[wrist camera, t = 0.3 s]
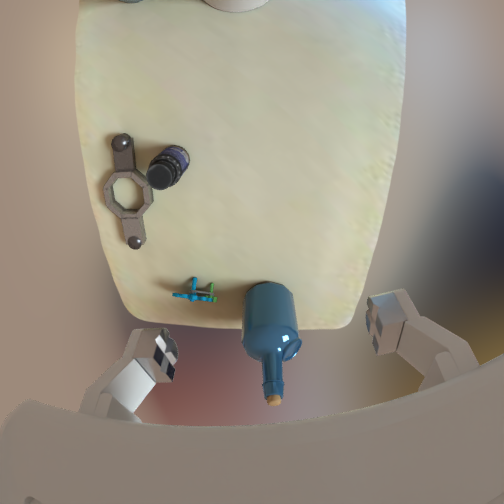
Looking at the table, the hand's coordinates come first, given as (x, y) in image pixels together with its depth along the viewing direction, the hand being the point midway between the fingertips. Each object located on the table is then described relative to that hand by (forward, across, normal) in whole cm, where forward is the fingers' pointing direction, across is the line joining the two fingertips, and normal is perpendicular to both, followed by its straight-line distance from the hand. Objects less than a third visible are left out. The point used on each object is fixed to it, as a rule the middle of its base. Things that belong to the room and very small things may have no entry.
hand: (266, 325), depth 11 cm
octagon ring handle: (+46, +29, +6) cm, 55 cm away
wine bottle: (+47, +5, +42) cm, 63 cm away
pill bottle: (+46, +17, +2) cm, 49 cm away
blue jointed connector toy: (+47, +22, +34) cm, 62 cm away
